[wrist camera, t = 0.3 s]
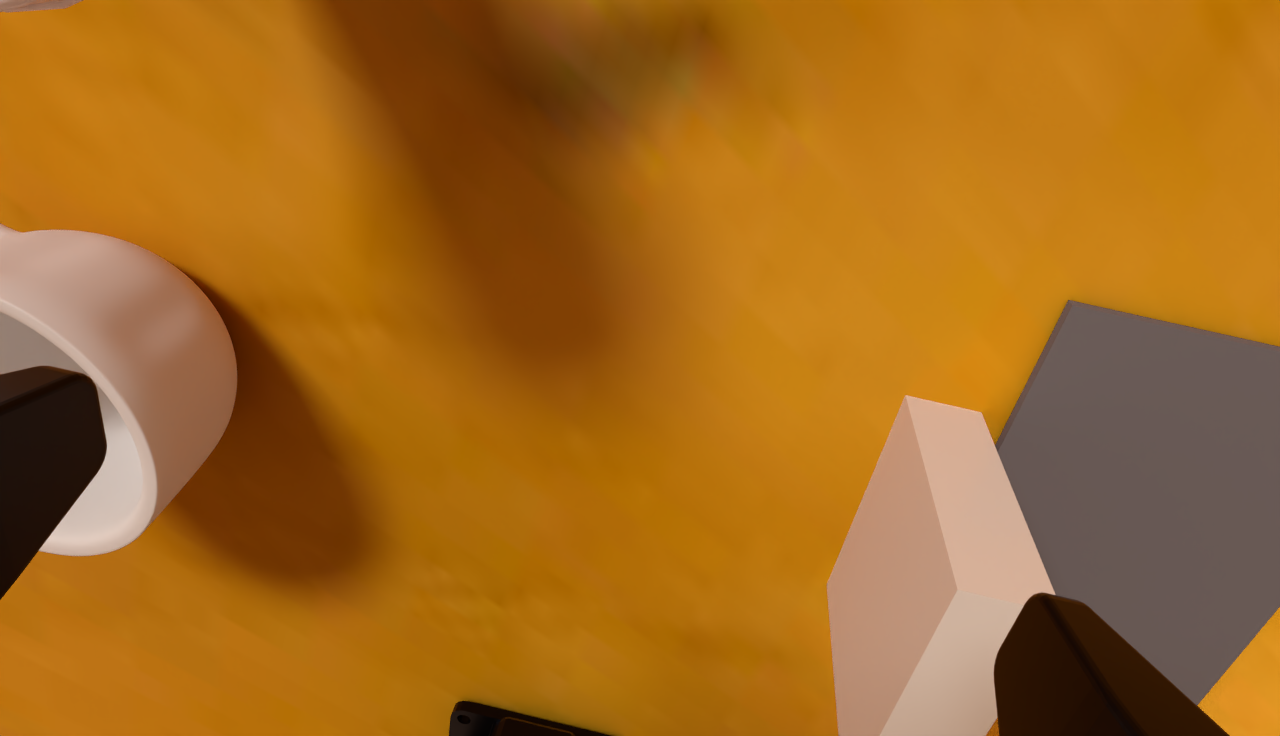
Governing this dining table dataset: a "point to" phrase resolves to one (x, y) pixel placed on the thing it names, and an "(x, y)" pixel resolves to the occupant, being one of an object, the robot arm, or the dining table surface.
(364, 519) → the dining table surface
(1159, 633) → the mat
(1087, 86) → the dining table surface
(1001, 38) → the dining table surface
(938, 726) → the block
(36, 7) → the smoothie
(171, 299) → the teacup
